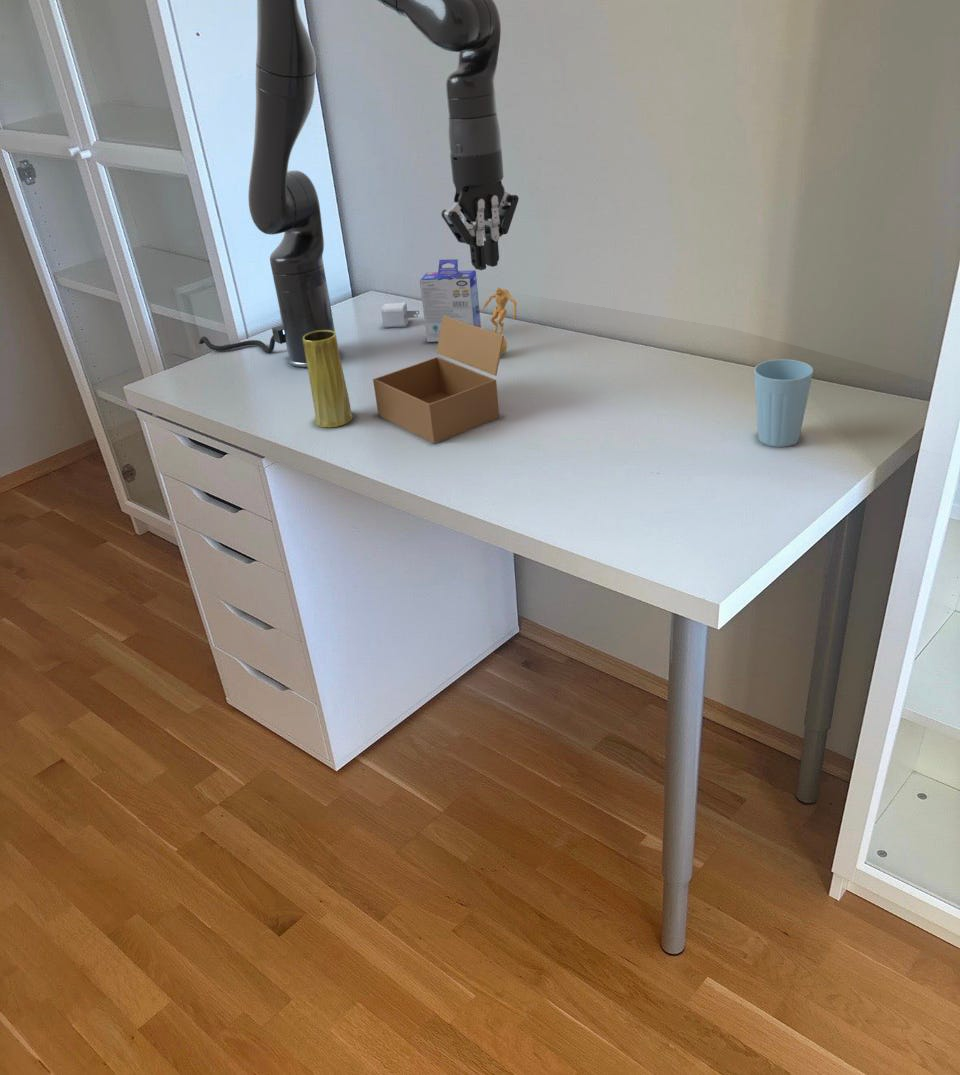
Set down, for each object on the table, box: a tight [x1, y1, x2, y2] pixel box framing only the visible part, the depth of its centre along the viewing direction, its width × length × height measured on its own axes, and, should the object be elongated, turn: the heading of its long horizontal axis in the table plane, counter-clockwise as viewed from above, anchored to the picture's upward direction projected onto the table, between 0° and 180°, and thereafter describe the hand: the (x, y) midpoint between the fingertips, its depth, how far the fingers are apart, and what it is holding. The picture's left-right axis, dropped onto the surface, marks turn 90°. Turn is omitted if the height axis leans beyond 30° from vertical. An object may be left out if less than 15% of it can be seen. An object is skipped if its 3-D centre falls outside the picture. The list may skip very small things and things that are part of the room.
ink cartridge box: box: [419, 258, 482, 343], centre depth 185 cm, size 10×6×14 cm, turn 79°
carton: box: [372, 356, 500, 445], centre depth 156 cm, size 16×13×6 cm
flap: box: [436, 316, 505, 377], centre depth 156 cm, size 16×6×1 cm
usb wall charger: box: [381, 302, 420, 329], centre depth 198 cm, size 4×7×4 cm, turn 84°
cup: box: [753, 358, 814, 448], centre depth 137 cm, size 8×8×10 cm
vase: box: [303, 330, 354, 428], centre depth 156 cm, size 6×6×14 cm
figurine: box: [481, 287, 517, 357], centre depth 176 cm, size 8×6×12 cm
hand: (485, 266), depth 152 cm, fingers closed
